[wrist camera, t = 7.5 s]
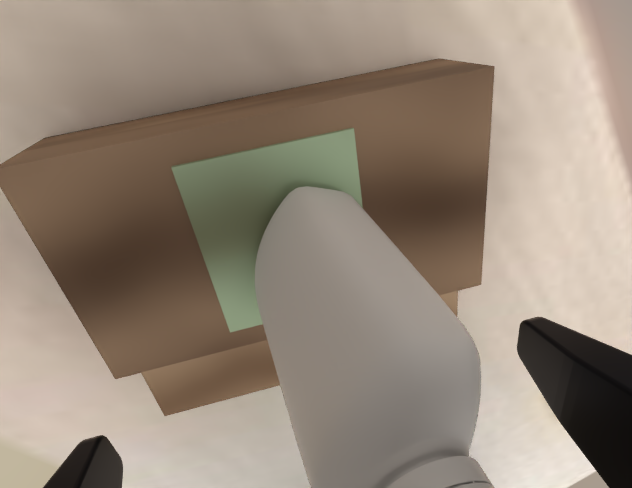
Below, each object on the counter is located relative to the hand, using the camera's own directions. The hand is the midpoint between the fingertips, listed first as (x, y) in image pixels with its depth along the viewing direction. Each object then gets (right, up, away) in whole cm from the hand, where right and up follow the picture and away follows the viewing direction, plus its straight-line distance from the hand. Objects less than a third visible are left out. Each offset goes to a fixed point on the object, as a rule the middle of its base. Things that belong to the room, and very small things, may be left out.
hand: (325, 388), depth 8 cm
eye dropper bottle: (-1, +3, +6) cm, 7 cm away
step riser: (-2, +3, +11) cm, 11 cm away
